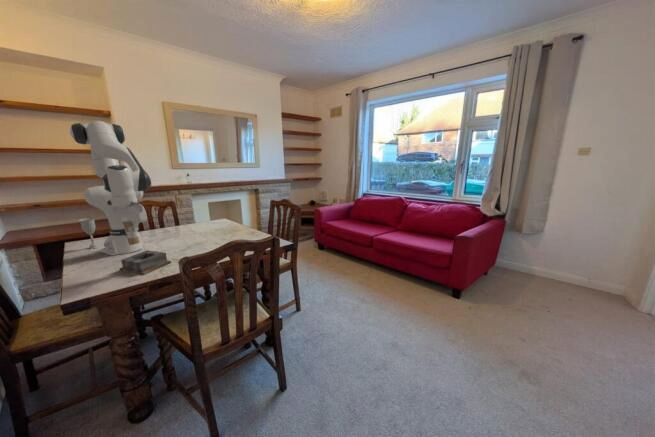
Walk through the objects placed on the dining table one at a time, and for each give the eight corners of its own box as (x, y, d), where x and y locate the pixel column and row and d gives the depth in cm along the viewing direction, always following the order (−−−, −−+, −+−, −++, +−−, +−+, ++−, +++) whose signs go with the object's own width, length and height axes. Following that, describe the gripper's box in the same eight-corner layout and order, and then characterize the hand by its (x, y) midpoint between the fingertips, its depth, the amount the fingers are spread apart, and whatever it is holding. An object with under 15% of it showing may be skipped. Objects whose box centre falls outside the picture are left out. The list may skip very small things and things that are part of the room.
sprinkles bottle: (127, 244, 120) (119, 217, 117) (138, 241, 124) (131, 215, 120) (130, 245, 117) (122, 218, 114) (141, 242, 121) (134, 215, 117)
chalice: (83, 250, 151) (75, 221, 147) (91, 246, 157) (83, 218, 153) (97, 248, 153) (90, 220, 148) (104, 245, 159) (97, 217, 155)
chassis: (119, 270, 122) (117, 259, 121) (147, 259, 135) (145, 249, 134) (144, 274, 117) (142, 263, 116) (171, 262, 130) (169, 252, 128)
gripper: (147, 201, 115) (153, 229, 119) (118, 199, 122) (124, 226, 126) (133, 203, 110) (140, 233, 113) (103, 201, 116) (110, 229, 120)
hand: (131, 229), depth 119 cm, fingers closed on sprinkles bottle, 4 cm apart
